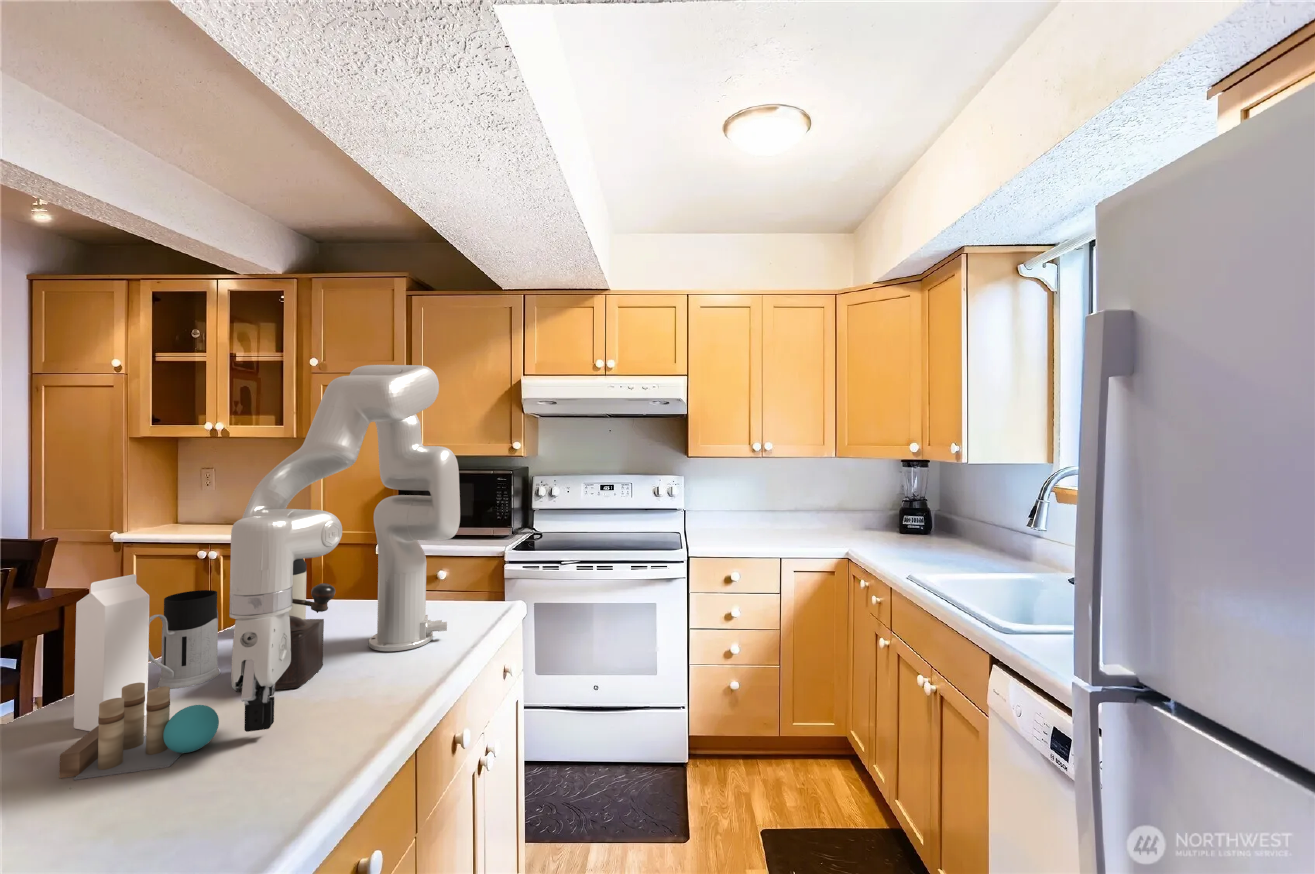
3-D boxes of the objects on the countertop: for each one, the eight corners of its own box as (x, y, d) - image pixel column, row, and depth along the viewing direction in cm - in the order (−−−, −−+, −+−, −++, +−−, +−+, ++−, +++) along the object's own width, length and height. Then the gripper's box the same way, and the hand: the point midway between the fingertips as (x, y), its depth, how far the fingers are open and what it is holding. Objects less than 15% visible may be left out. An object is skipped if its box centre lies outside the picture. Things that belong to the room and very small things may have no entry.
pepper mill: (230, 694, 96) (232, 588, 96) (265, 668, 107) (267, 573, 107) (328, 689, 98) (330, 586, 99) (352, 664, 109) (354, 571, 110)
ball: (166, 707, 80) (174, 748, 80) (153, 725, 75) (162, 768, 75) (218, 691, 83) (226, 731, 83) (209, 707, 78) (218, 749, 78)
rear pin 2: (147, 740, 81) (149, 681, 81) (138, 749, 79) (139, 688, 79) (126, 743, 80) (127, 683, 80) (115, 752, 78) (117, 690, 78)
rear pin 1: (127, 759, 76) (128, 696, 76) (116, 769, 74) (117, 704, 74) (104, 762, 76) (105, 698, 76) (92, 772, 73) (93, 707, 73)
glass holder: (231, 668, 107) (233, 589, 107) (169, 702, 93) (171, 611, 93) (184, 668, 107) (185, 589, 107) (114, 703, 92) (116, 611, 93)
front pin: (172, 745, 80) (174, 685, 80) (163, 754, 78) (164, 692, 78) (151, 748, 79) (152, 687, 79) (141, 757, 77) (142, 694, 77)
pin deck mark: (203, 729, 84) (203, 728, 84) (169, 766, 75) (169, 765, 75) (120, 740, 81) (120, 738, 81) (73, 779, 72) (73, 778, 72)
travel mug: (283, 624, 133) (284, 547, 133) (313, 625, 132) (314, 548, 132) (254, 635, 125) (255, 554, 125) (286, 637, 124) (288, 555, 124)
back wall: (120, 740, 81) (121, 719, 81) (79, 775, 73) (79, 752, 73) (103, 742, 81) (103, 721, 81) (59, 778, 72) (59, 754, 72)
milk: (73, 729, 84) (74, 581, 84) (120, 710, 90) (121, 572, 90) (102, 734, 83) (104, 584, 83) (149, 714, 89) (150, 574, 89)
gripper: (274, 614, 76) (272, 750, 76) (305, 587, 91) (303, 701, 90) (208, 619, 74) (205, 759, 74) (250, 590, 88) (248, 708, 88)
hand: (259, 727), depth 82 cm, fingers closed
